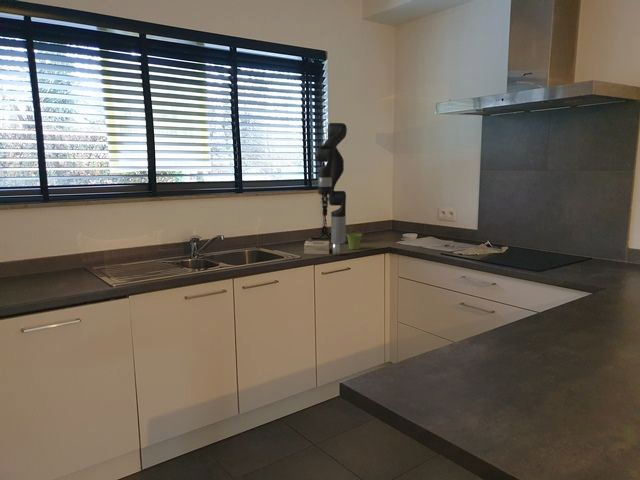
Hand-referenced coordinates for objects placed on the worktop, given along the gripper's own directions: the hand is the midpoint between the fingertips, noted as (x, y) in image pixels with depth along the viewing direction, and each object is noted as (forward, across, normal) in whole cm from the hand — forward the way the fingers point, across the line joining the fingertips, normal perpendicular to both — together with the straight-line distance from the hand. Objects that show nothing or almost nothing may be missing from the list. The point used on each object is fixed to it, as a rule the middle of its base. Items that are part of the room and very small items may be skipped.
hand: (325, 214), depth 262 cm
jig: (+22, -6, -5) cm, 23 cm away
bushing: (+22, +3, +6) cm, 23 cm away
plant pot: (+22, -14, +17) cm, 31 cm away
